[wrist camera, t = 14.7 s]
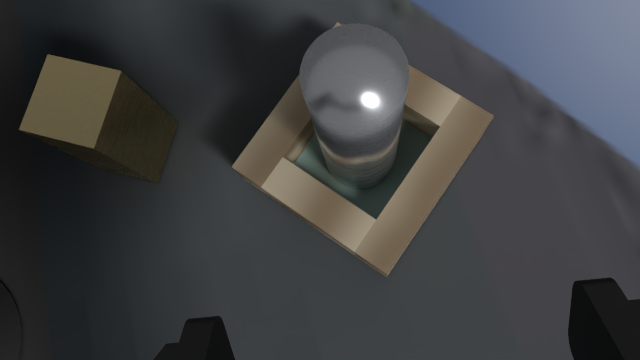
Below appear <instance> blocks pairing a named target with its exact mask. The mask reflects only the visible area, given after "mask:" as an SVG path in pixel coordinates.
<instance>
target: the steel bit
mask: <svg viewBox="0 0 640 360" xmlns="http://www.w3.org/2000/svg"><path fill="white" fill-rule="evenodd" d="M299 79H300V86H301V90H302V93H303V96H304V99H305V102H306V105H307V108H308V111H309V114H310V117H311V120H312V123H313V126H314V129H315V132H316V135H317V138H318V141H319V144H320V147H321V150H322V153H323V156H324V159H325V162H326V165H327V167H328V170H329V172H330V173H331V175H332V176H333V177H334V178H335V179H336V180H337V181H338V182H339V183H341V184H342V185H344V186H346V187H349V188H353V189H367V188H371V187H374V186H376V185H378V184H379V183H381V182H382V181H384V180H385V179H386V178H387V176H388V175H389V174H390V172H391V170H392V168H393V166H394V162H395V157H396V151H397V146H398V140H399V135H400V129H401V123H402V118H403V112H404V106H405V101H406V95H407V89H408V84H409V65H408V61H407V57H406V55H405V53H404V51H403V49H402V47H401V46H400V44H399V43H398V42H397V41H396V40H395V39H394V38H393V37H392V36H391V35H389V34H388V33H387V32H385V31H383V30H381V29H379V28H377V27H374V26H371V25H367V24H359V23H355V24H345V25H341V26H337V27H334V28H332V29H330V30H328V31H326V32H324V33H323V34H322V35H320V36H319V37H318V38H317V39H316V40H315V41H314V42H313V43H312V44H311V45H310V46H309V48H308V49H307V51H306V53H305V55H304V57H303V59H302V63H301V67H300V77H299Z"/></svg>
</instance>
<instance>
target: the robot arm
mask: <svg viewBox="0 0 640 360" xmlns="http://www.w3.org/2000/svg"><path fill="white" fill-rule="evenodd" d="M568 337H569V344H570V349H571V352H572V355H573V358H574V360H640V299H637V300H628V299H627V298H626V296H625V295H624V293H623V292H622V290H621V289H620V287H619V286H618V284H617V283H616V281H615V280H614V279H612V278H601V279H590V280H580V281H575V282H574V284H573V288H572V298H571V308H570V318H569V328H568ZM20 348H21V322H20V317H19V312H18V309H17V307H16V305H15V302H14V300H13V298H12V296H11V294H10V293H9V292H8V290H7V289H6V288H5V286H4V285H3V284H2V283H1V282H0V360H18V359H19V353H20ZM154 360H235V358H234V355H233V352H232V349H231V345H230V342H229V339H228V336H227V333H226V329H225V326H224V323H223V320H222V318H221V317H220V316H214V317H203V318H193V319H188V320H187V321H186V322H185V325H184V328H183V331H182V334H181V338H180V341H179V343H169V344H166V345H165V346H164V347H163V348H162V350H161V351H160V352H159V353H158V355H157V356H156V357H155V358H154Z"/></svg>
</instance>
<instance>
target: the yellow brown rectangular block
mask: <svg viewBox="0 0 640 360" xmlns="http://www.w3.org/2000/svg"><path fill="white" fill-rule="evenodd" d="M177 124H178V122H177V121H176V120H175V119H174V118H173V117H172V116H171V115H170V114H168V113H167V112H166V111H165V110H164V109H163V108H162V107H161V106H160V105H158V104H157V103H156V102H155V101H154V100H153V99H152V98H151V97H150V96H149V95H147V94H146V93H145V92H144V91H143V90H142V89H141V88H140V87H139V86H137V85H136V84H135V83H134V82H133V81H132V80H131V79H130V78H129V77H128V76H126V75H125V74H124V73H123V72H122V71H120V70H115V69H111V68H106V67H102V66H98V65H93V64H89V63H84V62H80V61H76V60H71V59H67V58H62V57H58V56H53V55H49V54H48V55H47V57H46V60H45V63H44V65H43V68H42V71H41V73H40V76H39V78H38V81H37V84H36V86H35V89H34V92H33V94H32V97H31V99H30V102H29V105H28V107H27V110H26V113H25V115H24V118H23V120H22V123H21V126H20V128H19V130H20V131H22V132H25V133H27V134H29V135H31V136H33V137H35V138H37V139H39V140H41V141H43V142H45V143H47V144H49V145H52V146H54V147H56V148H58V149H60V150H62V151H64V152H66V153H68V154H70V155H72V156H74V157H76V158H78V159H81V160H83V161H85V162H87V163H89V164H91V165H93V166H95V167H97V168H100V169H104V170H107V171H111V172H115V173H119V174H123V175H127V176H131V177H135V178H139V179H143V180H146V181H150V182H154V183H158V182H159V179H160V176H161V173H162V170H163V167H164V164H165V161H166V158H167V155H168V152H169V148H170V145H171V142H172V139H173V136H174V133H175V130H176V127H177Z"/></svg>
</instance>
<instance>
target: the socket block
mask: <svg viewBox="0 0 640 360" xmlns="http://www.w3.org/2000/svg"><path fill="white" fill-rule="evenodd" d="M337 26H341V24H340V23H338V22H337V23H336V25H335V26H334V27H337ZM334 27H333V28H334ZM299 77H300V74H299V75H298V77H297V78H296V79H295V81H294V82H293V83H292V85H291V86H290V88H289V89H288V90H287V92H286V93H285V94H284V96H283V97H282V99H281V100H280V101H279V103H278V104H277V105H276V107H275V108H274V109H273V111H272V112H271V114H270V115H269V116H268V118H267V119H266V120H265V122H264V123H263V124H262V126H261V127H260V129H259V130H258V131H257V133H256V134H255V135H254V137H253V138H252V140H251V141H250V142H249V144H248V145H247V146H246V148H245V149H244V150H243V152H242V153H241V155H240V156H239V157H238V159H237V160H236V161H235V163H234V164H233V165H232V168H233V169H234V170H235V171H236V172H237V173H239V174H240V175H241V176H242V177H243V178H244V179H245V180H246V181H248V182H249V183H250V184H252V185H253V186H255V187H256V188H258V189H259V190H261V191H262V192H263V193H265V194H266V195H268V196H269V197H271V198H272V199H273V200H275V201H276V202H278V203H279V204H281V205H282V206H284V207H285V208H286V209H288V210H289V211H291V212H292V213H294V214H295V215H297V216H298V217H299V218H301V219H302V220H304V221H305V222H307V223H308V224H310V225H311V226H312V227H314V228H315V229H317V230H318V231H320V232H321V233H322V234H324V235H325V236H327V237H328V238H330V239H331V240H333V241H334V242H335V243H337V244H338V245H340V246H341V247H343V248H344V249H346V250H347V251H348V252H350V253H351V254H353V255H354V256H356V257H357V258H359V259H360V260H361V261H363V262H364V263H366V264H367V265H369V266H370V267H371V268H373V269H374V270H376V271H377V272H379V273H380V274H382V275H383V276H384V277H387V276H388V274H389V273H390V271H391V270H392V268H393V267H394V265H395V264H396V262H397V261H398V259H399V258H400V256H401V255H402V253H403V252H404V250H405V249H406V247H407V246H408V244H409V243H410V242H411V240H412V239H413V237H414V236H415V234H416V233H417V231H418V230H419V228H420V227H421V225H422V224H423V222H424V221H425V219H426V218H427V216H428V215H429V213H430V212H431V210H432V209H433V207H434V206H435V204H436V203H437V201H438V200H439V198H440V197H441V195H442V194H443V193H444V191H445V190H446V188H447V187H448V185H449V184H450V182H451V181H452V179H453V178H454V176H455V175H456V173H457V172H458V170H459V169H460V167H461V166H462V164H463V163H464V161H465V160H466V158H467V157H468V155H469V154H470V152H471V151H472V149H473V148H474V146H475V145H476V144H477V142H478V141H479V139H480V138H481V136H482V135H483V133H484V131H485V130H486V128H487V127H488V125H489V123H490V122H491V120H492V118H493V117H494V115H492V114H490V113H489V112H487V111H485V110H484V109H482V108H480V107H479V106H477V105H475V104H473V103H472V102H470V101H468V100H467V99H465V98H463V97H462V96H460V95H458V94H457V93H455V92H453V91H452V90H450V89H448V88H447V87H445V86H443V85H442V84H440V83H438V82H437V81H435V80H433V79H432V78H430V77H428V76H427V75H425V74H423V73H422V72H420V71H418V70H417V69H415V68H413V67H412V66H410V65H409V84H408V89H407V95H406V101H405V106H404V112H403V118H402V123H401V129H400V135H399V140H398V146H397V151H396V157H395V162H394V166H393V168H392V170H391V172H390V174H389V175H388V176H387V178H386V179H385V180H384V181H382V182H381V183H379V184H378V185H376V186H374V187H371V188H367V189H353V188H349V187H346V186H344V185H342V184H341V183H339V182H338V181H337V180H336V179H335V178H334V177H333V176H332V175H331V173H330V172H329V170H328V167H327V165H326V162H325V159H324V156H323V153H322V150H321V147H320V144H319V141H318V138H317V135H316V132H315V129H314V126H313V123H312V120H311V117H310V114H309V111H308V108H307V105H306V102H305V99H304V96H303V93H302V90H301V86H300V79H299Z"/></svg>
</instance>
